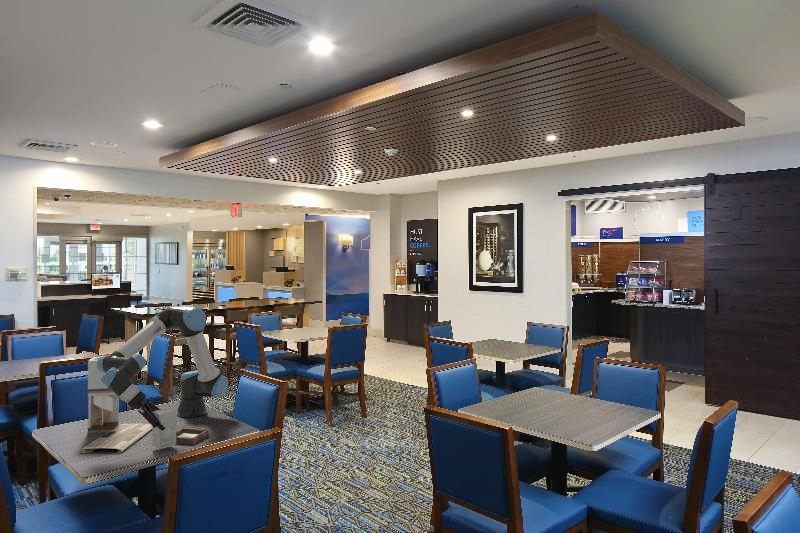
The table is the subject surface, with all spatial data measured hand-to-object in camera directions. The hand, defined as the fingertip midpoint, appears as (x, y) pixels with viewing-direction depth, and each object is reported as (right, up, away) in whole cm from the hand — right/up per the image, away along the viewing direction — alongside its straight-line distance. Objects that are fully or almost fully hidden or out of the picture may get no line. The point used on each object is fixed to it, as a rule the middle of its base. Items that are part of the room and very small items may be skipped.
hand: (171, 430), depth 248 cm
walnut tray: (+2, -8, +14) cm, 16 cm away
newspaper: (-28, -9, +12) cm, 32 cm away
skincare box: (-3, -7, -1) cm, 7 cm away
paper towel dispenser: (-45, -8, +28) cm, 53 cm away
